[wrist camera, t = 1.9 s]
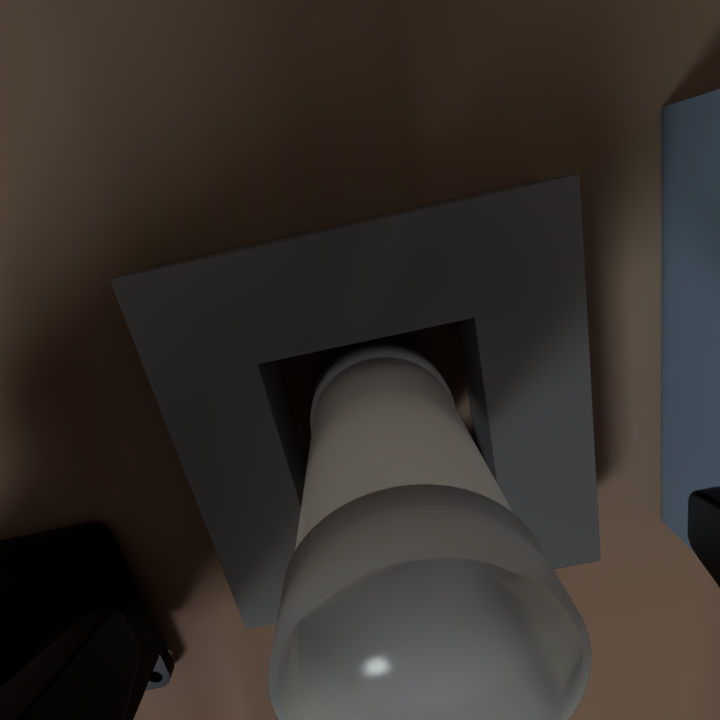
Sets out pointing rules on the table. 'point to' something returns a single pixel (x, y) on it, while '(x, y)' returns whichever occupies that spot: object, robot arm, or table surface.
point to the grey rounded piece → (414, 566)
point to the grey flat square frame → (367, 322)
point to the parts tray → (690, 304)
